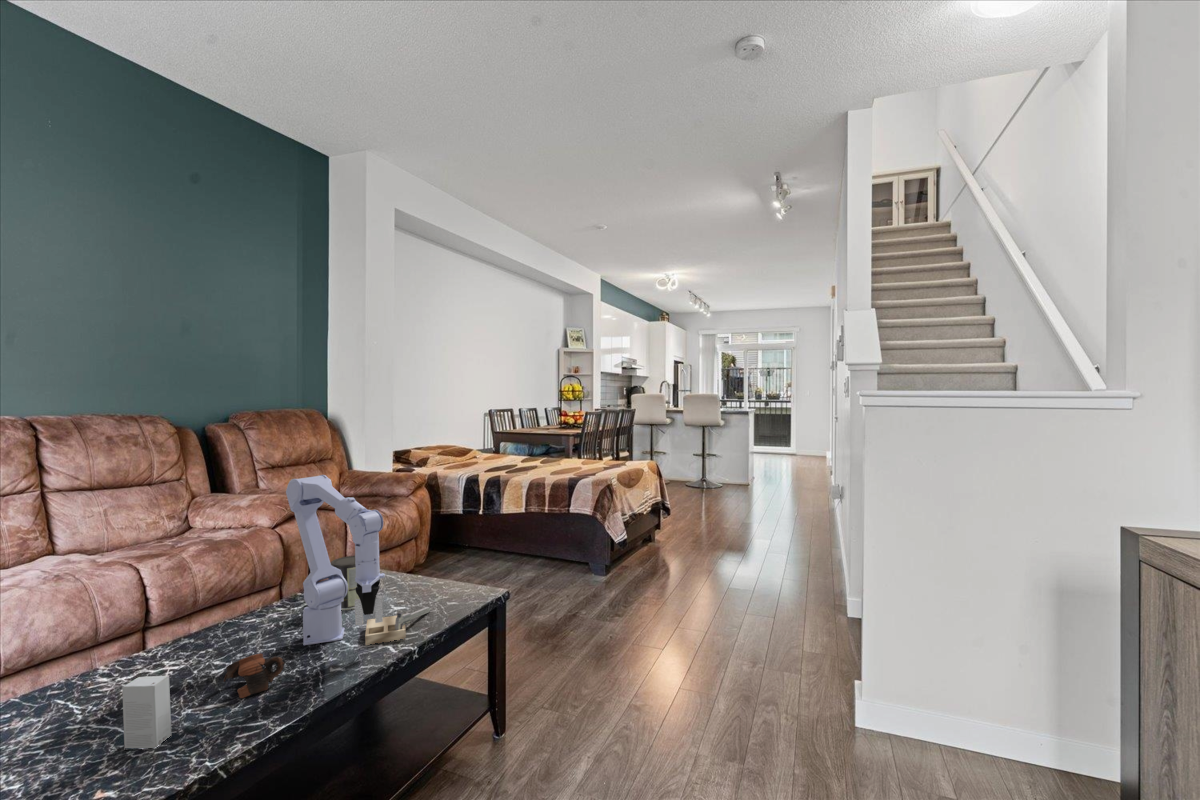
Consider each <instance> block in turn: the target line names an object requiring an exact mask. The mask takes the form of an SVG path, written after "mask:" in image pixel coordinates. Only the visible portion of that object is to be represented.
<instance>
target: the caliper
mask: <svg viewBox="0 0 1200 800" xmlns="http://www.w3.org/2000/svg"><path fill="white" fill-rule="evenodd" d="M432 609H433V608H431V606H426V607H423V608H421V609H418V610H416V611H412V612H407V613H404V612H403V611H402V612H397V614H396V615H397V618H396V622H395V630H400V629H402V626H404V625H405V626H406V625H408V624H411V621H412V620H414V619H416V618H419V617H421V616H424V615H426V614H428V613H429V614H430V612H431V611H432ZM403 614H404V615H403Z"/></svg>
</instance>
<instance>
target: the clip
mask: <svg viewBox="0 0 1200 800" xmlns="http://www.w3.org/2000/svg"><path fill="white" fill-rule="evenodd" d="M383 612H384V611H383V596H382V595H376V598H375V605H374V611H373V613H374V616H375V617H374V619H375V623H379V622H383V617H384V616H383V614H384V613H383ZM354 617H355V618H354V620H355V626H356V627H357V626H363V625H364V613H363V609H362V604H361V601H360V599H355V609H354Z"/></svg>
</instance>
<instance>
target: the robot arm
mask: <svg viewBox="0 0 1200 800" xmlns="http://www.w3.org/2000/svg"><path fill="white" fill-rule="evenodd" d="M286 486H287V487H286V489H285V494H286V497H287V498H286V499H287V502H288V505H289V508H290V511H291V512H293V514H294V517H295V520H296V525H297V528H298V532H299V535H300V539H301V543H302V545H303V550H304V553H305V557H306V560H307V564H308V567H309V574H308V575H307V576H306V578H305V580H304V581H303V582H302V586H303V598H304V602H305V604H306V607H303V612H302V613H303V614H302V626H303V629H302V636H303V642H302V644H303V646H310V645H315V644H320V643H321V644H322V643H328V642H335V641H341V640H343V639H344V635H345V634H344V633H345V630H346V629H345V627H343V624H342V623H343V622H342V621H343V619H342V611H341V602H343V601H344V597H345V596H346V595H347V592H348V584H347V581H346V580H345V578H344V577H343V575H342V572H341V570H340V569H338V568H336V567H333V566H331V560H330V557H329V553H328V550H327V547H326V546H327V545H326V543H325V539H324V536H323V533H322V532H323V531H322V529H321V525H320V522H319V518H318V515H317V511H318V509H319V508H320V507H321V506H322V505H323V504H324V503H325V504H328V505H329V506H331V508H334V513H335V516H337V517H338V518H339V519H340V520H341V521H343V523H346V524H347V525H348V528H349V529H348V530H349V531H350V533H351V535H352V537H351V538H352V542H353V544H354V546H355V547H354V556H355V564H356V577H355V581H356V582H357V587H356V593H357V595H358V596H359V598H360V601H361V604H362V609H363V616H365V615H366V616H368V615H373V614H374V612H375V611H374V605H375V598H376V596H378V595H377V594H378V592H379V590H380V587H381V586H380V584H381V579H385V573H383V572H382V573H381V572H380V571H381V570H380V569H381V568H380V537H379V536H380V535H379V534H380V533H379V532H381V531H382V530H383V528H384V517H383V515H382V514H381V512H379V510H378V509H372V510H371V509H367V508H366V507H365V506H363V505H362V504H361V503H359V502H358V501H357V500H356V498H355V497H354V496H353V497H344V495H342V494H341V492H339V491H338V490H337V489H336V488H335V486H334V487H333V484H332V480H331V478H329V477H328V476H327V475H325V474H319V475H315V476H309V477H308V476H307V477H301V478H292V479H290V480H289V482H288V484H287V485H286ZM373 611H374V612H373Z"/></svg>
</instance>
